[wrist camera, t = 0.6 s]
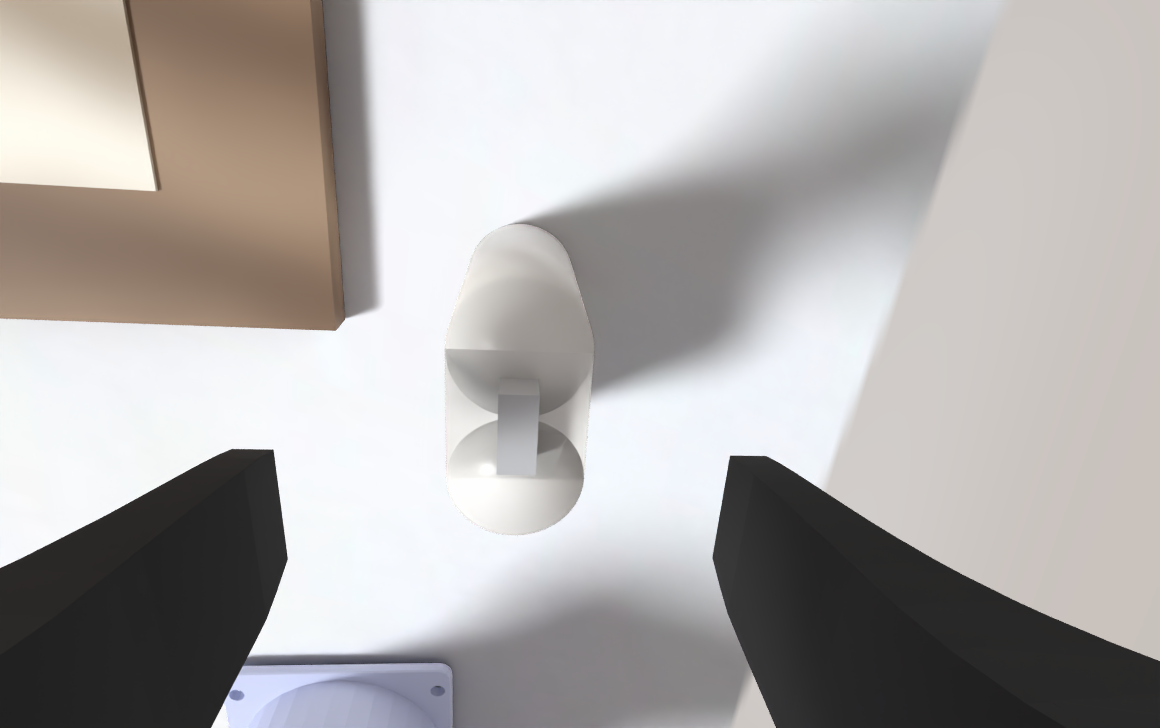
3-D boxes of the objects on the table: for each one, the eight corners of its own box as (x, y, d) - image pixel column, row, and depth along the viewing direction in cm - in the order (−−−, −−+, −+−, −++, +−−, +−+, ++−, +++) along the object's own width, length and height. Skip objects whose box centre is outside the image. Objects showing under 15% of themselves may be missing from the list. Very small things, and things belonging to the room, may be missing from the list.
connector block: (563, 417, 20) (582, 558, 14) (467, 414, 20) (443, 558, 14) (576, 227, 18) (605, 293, 12) (468, 220, 18) (438, 286, 11)
